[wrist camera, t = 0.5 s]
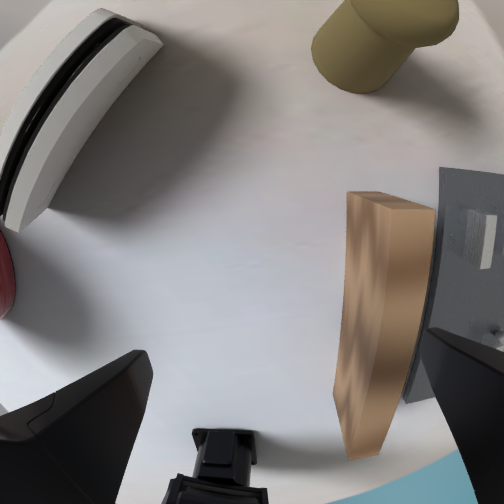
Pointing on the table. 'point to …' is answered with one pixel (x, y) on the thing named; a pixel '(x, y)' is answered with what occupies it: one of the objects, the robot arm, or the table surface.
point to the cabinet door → (379, 312)
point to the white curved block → (66, 109)
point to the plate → (465, 266)
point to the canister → (6, 279)
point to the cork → (378, 39)
